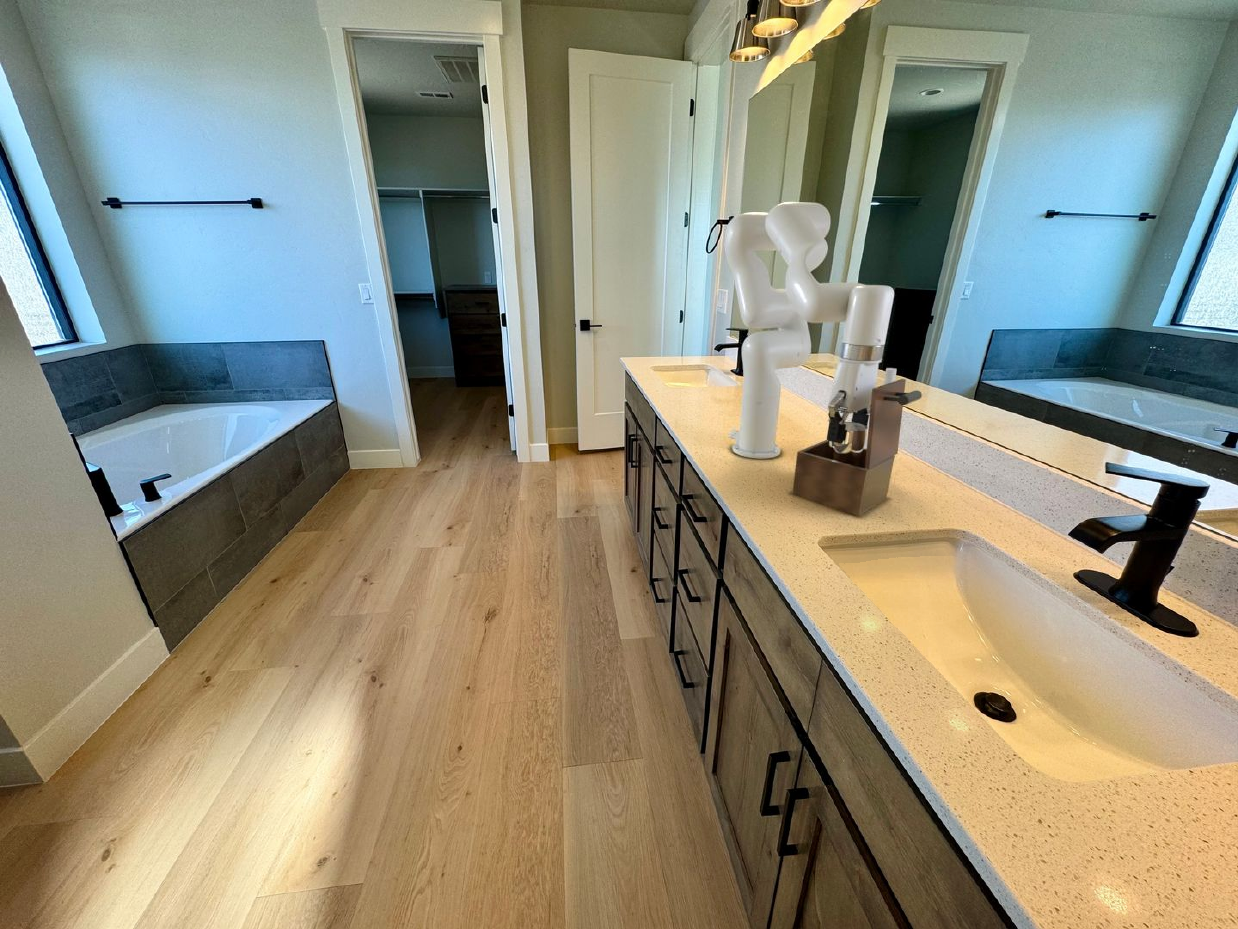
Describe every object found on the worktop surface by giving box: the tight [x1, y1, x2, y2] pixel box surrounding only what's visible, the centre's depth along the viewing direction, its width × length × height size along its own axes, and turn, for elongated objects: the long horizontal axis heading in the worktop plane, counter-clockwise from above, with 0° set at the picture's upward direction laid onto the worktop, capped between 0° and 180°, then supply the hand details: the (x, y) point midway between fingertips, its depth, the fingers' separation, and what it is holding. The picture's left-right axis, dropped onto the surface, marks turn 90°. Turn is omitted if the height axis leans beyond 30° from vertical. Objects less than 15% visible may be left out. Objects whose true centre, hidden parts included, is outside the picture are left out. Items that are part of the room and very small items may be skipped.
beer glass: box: [828, 421, 869, 467], centre depth 103 cm, size 7×7×15 cm
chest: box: [791, 439, 896, 517], centre depth 104 cm, size 15×13×10 cm
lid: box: [865, 378, 923, 469], centre depth 93 cm, size 15×13×5 cm
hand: (846, 436), depth 102 cm, fingers open, 9 cm apart
